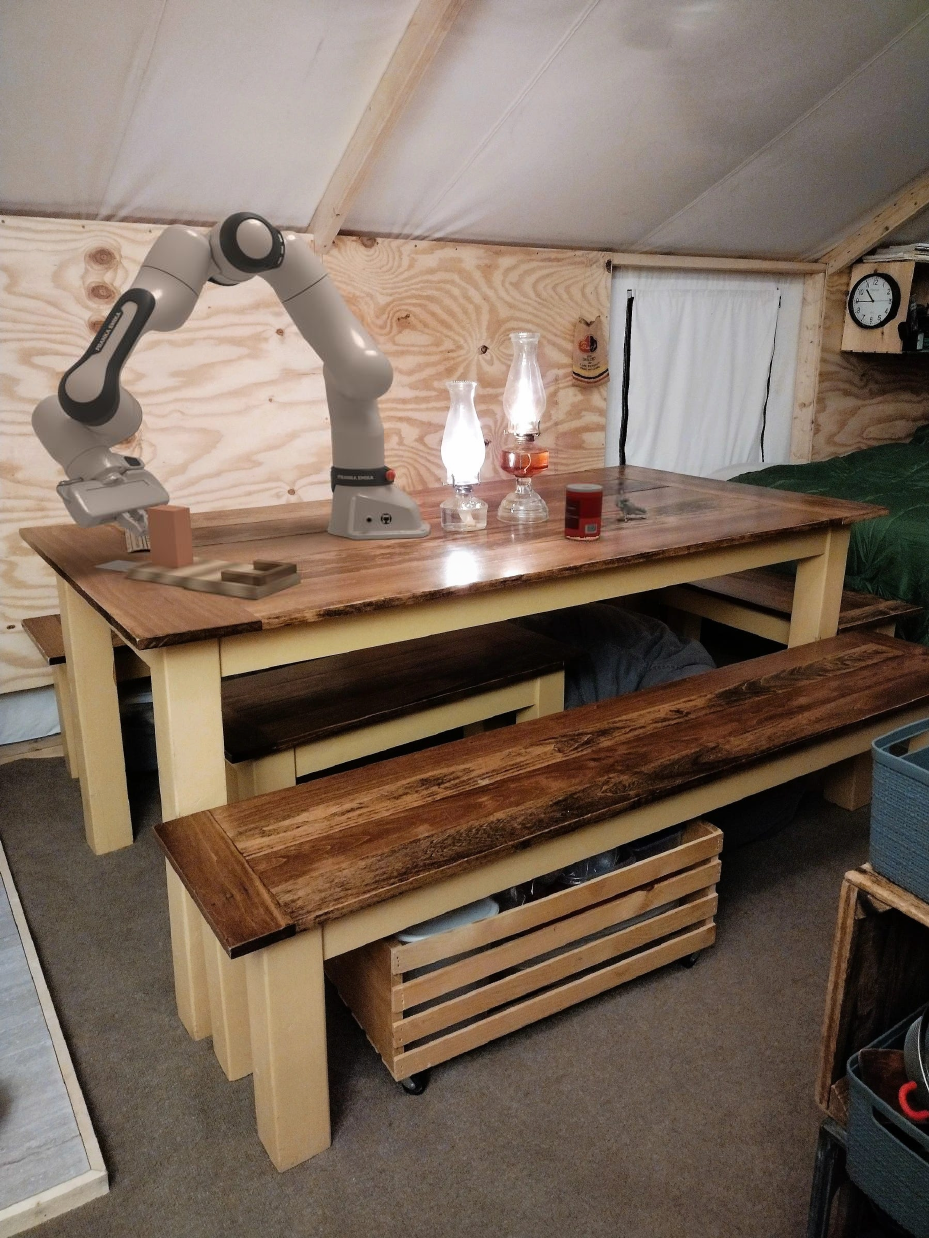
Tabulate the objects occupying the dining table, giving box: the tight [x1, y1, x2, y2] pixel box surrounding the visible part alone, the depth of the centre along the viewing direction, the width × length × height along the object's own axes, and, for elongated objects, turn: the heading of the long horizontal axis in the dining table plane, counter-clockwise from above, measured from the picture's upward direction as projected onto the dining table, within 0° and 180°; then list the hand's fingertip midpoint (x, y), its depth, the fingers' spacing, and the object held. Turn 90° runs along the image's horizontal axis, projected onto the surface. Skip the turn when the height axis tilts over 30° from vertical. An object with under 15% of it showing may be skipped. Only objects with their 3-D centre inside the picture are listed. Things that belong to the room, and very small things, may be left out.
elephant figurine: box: [614, 489, 649, 519], centre depth 218 cm, size 10×6×9 cm
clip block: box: [147, 504, 194, 568], centre depth 162 cm, size 6×4×10 cm, turn 65°
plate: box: [93, 559, 143, 573], centre depth 168 cm, size 8×6×1 cm
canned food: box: [563, 483, 604, 538], centre depth 197 cm, size 8×8×11 cm
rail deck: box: [125, 556, 302, 600], centre depth 160 cm, size 28×12×4 cm, turn 65°
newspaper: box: [124, 528, 150, 554], centre depth 190 cm, size 24×7×2 cm, turn 21°
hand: (145, 534), depth 164 cm, fingers closed
